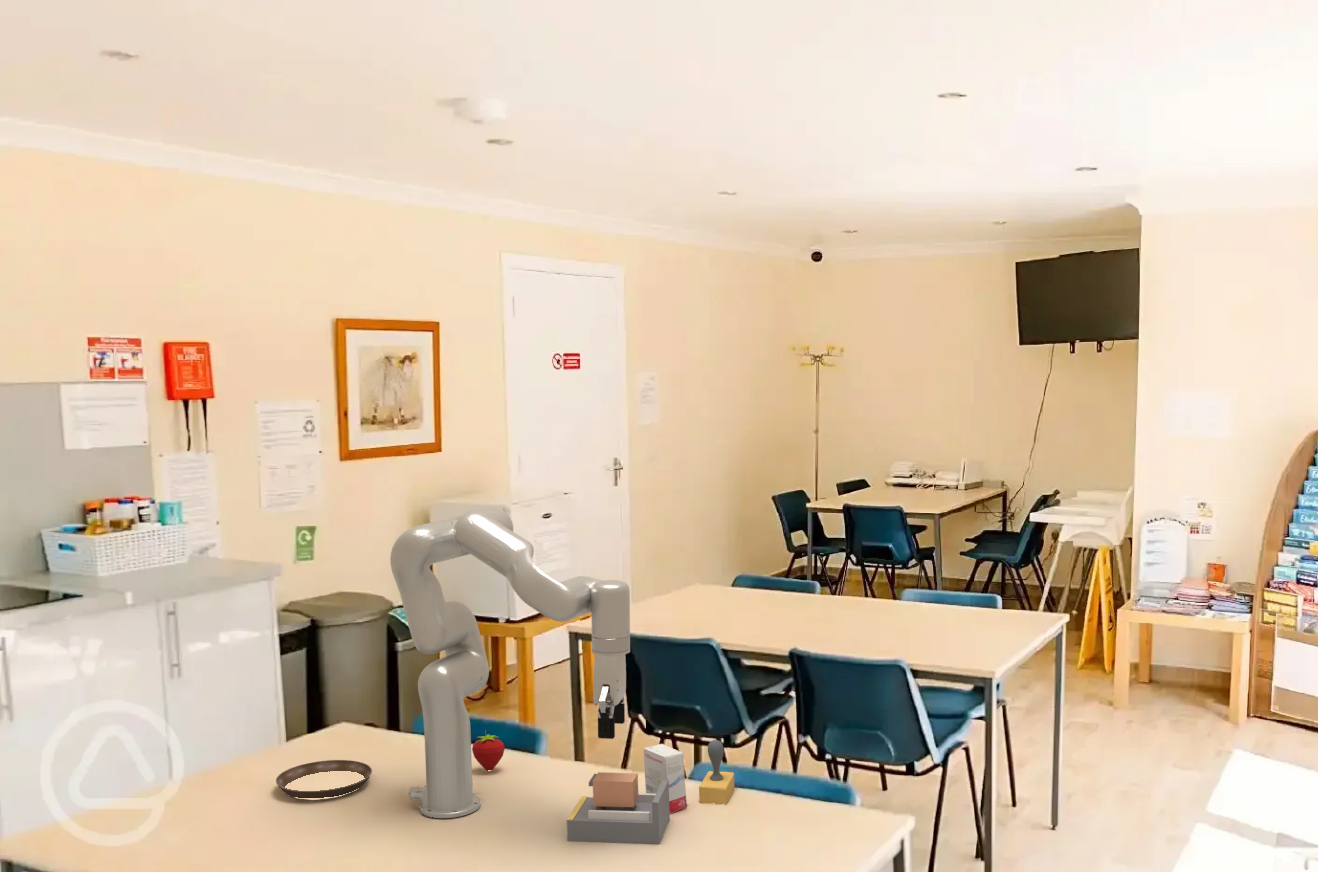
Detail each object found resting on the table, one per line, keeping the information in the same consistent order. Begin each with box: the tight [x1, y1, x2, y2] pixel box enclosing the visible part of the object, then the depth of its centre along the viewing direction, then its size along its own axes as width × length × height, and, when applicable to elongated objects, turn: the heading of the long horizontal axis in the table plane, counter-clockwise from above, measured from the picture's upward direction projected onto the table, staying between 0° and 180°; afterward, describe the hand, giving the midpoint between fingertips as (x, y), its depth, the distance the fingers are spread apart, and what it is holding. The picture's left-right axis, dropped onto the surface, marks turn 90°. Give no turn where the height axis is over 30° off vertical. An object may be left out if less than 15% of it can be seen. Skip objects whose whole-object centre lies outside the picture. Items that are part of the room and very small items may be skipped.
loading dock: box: [566, 780, 671, 845], centre depth 223 cm, size 18×13×8 cm
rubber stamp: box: [698, 739, 735, 805], centre depth 240 cm, size 10×6×12 cm, turn 166°
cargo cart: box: [588, 771, 639, 811], centre depth 223 cm, size 9×5×6 cm, turn 80°
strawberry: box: [471, 729, 505, 772], centre depth 260 cm, size 6×8×10 cm
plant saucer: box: [275, 759, 373, 798], centre depth 253 cm, size 21×21×3 cm
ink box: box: [643, 743, 688, 814], centre depth 235 cm, size 9×5×12 cm, turn 33°
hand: (611, 730), depth 222 cm, fingers open, 9 cm apart
